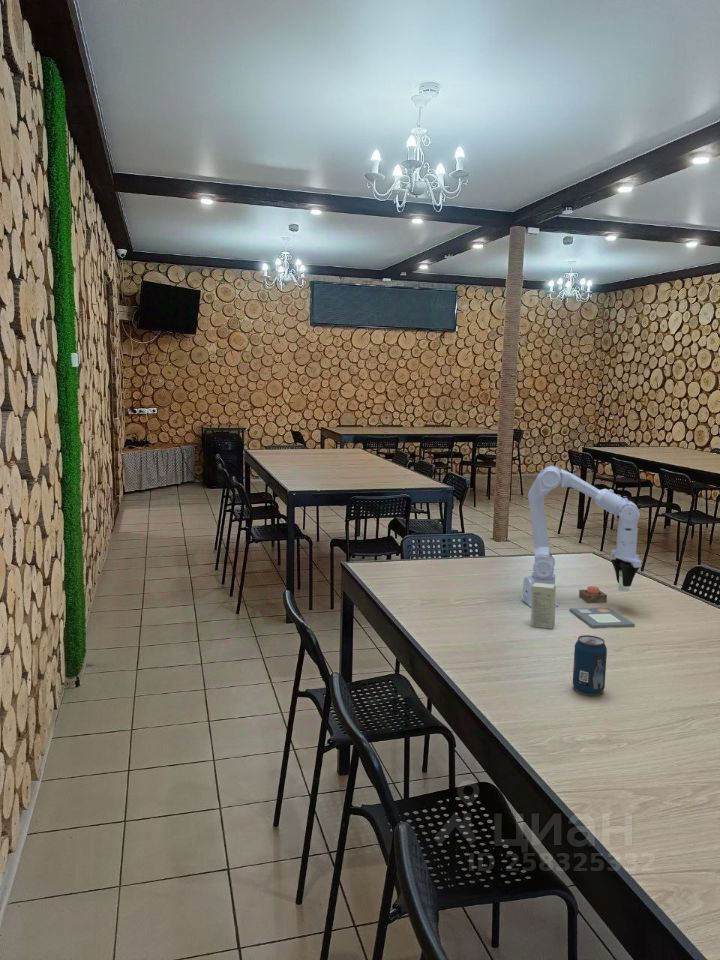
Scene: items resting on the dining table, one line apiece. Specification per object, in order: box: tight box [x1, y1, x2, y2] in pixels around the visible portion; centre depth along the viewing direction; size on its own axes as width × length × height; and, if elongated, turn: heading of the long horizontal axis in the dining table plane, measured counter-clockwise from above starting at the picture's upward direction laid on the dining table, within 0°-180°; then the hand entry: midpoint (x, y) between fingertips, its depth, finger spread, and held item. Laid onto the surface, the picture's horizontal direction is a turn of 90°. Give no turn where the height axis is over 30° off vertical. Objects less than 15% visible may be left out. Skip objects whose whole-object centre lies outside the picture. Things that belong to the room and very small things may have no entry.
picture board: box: [569, 607, 636, 629], centre depth 202 cm, size 13×15×1 cm
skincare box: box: [530, 583, 556, 629], centre depth 195 cm, size 6×4×12 cm
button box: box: [578, 589, 608, 604], centre depth 220 cm, size 6×6×2 cm
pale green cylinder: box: [618, 570, 630, 592], centre depth 208 cm, size 3×3×6 cm
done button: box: [586, 585, 600, 594], centre depth 220 cm, size 4×4×3 cm
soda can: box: [572, 634, 608, 697], centre depth 153 cm, size 7×7×12 cm
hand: (623, 584), depth 208 cm, fingers closed on pale green cylinder, 3 cm apart
